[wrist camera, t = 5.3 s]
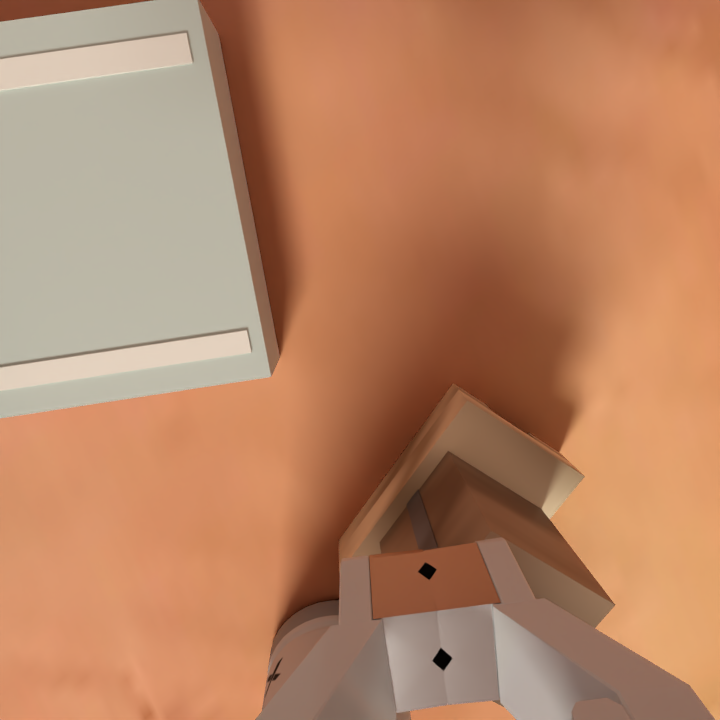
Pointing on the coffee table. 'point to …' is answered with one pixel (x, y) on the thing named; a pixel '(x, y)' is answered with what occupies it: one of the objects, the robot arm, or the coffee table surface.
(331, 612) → the travel mug
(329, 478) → the coffee table surface
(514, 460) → the pallet
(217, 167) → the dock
